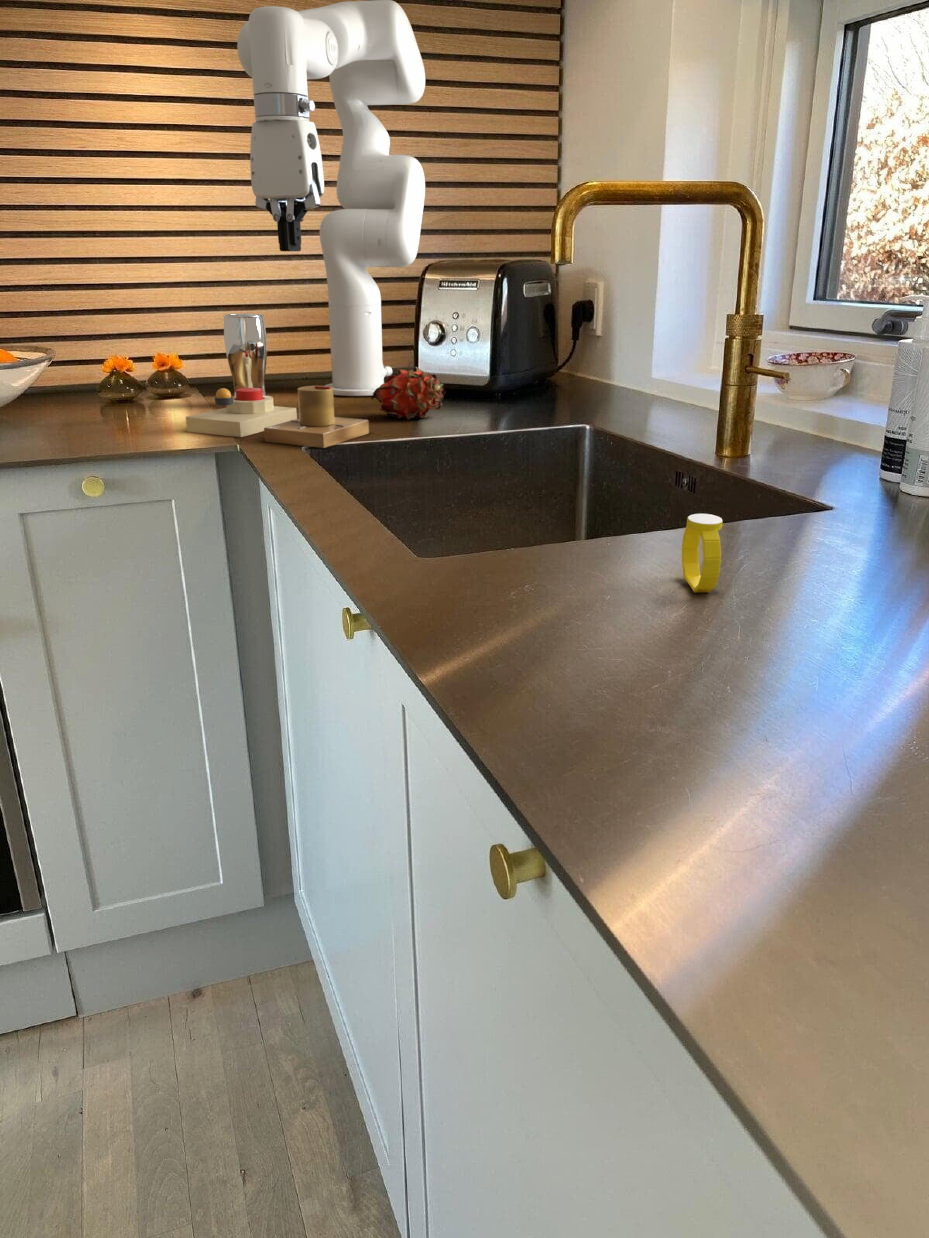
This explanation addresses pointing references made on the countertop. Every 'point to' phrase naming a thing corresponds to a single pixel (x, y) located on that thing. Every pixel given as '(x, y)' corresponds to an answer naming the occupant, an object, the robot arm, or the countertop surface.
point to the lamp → (223, 397)
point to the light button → (249, 394)
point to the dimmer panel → (316, 432)
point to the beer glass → (246, 349)
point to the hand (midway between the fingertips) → (290, 251)
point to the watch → (711, 551)
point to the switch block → (241, 418)
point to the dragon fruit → (410, 394)
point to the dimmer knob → (316, 405)
